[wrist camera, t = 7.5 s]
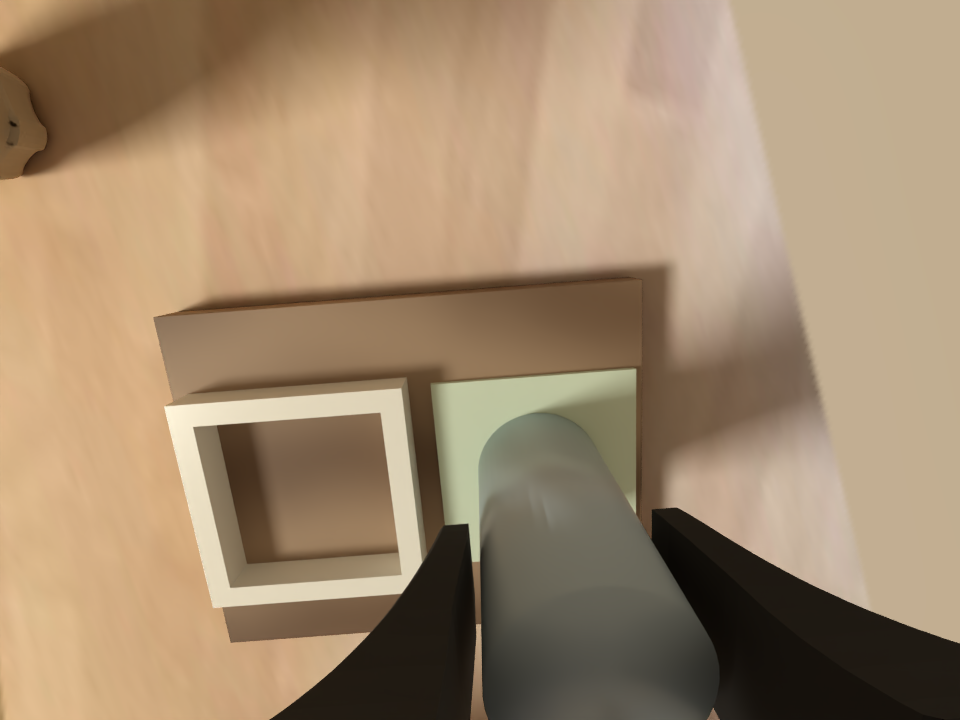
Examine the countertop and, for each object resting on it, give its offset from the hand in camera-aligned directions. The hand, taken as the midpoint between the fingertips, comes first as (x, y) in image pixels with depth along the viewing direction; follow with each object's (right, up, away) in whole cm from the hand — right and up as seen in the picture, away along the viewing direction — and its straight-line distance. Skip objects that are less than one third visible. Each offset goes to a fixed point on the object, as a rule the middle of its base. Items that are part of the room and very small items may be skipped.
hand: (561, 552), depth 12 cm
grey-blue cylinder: (0, +1, +4) cm, 4 cm away
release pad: (0, +1, +4) cm, 5 cm away
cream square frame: (-8, +1, +4) cm, 9 cm away
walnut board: (-4, +1, +6) cm, 7 cm away
